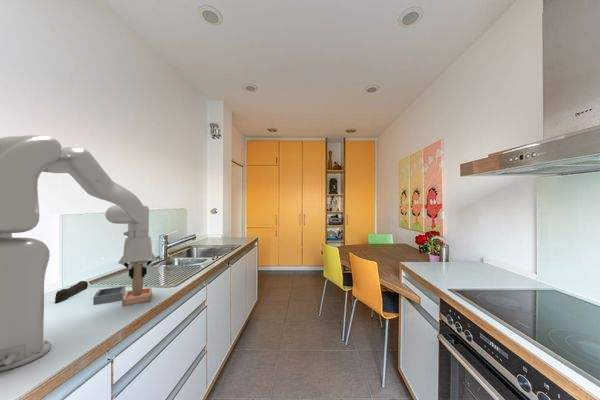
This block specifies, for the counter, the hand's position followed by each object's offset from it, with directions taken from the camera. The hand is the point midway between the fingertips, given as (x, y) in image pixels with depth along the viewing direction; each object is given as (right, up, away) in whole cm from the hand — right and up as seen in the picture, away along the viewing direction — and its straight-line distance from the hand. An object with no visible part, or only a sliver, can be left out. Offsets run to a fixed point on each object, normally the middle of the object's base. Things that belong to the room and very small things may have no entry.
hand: (137, 276), depth 105 cm
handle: (0, -8, 0) cm, 8 cm away
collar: (-13, -10, +1) cm, 16 cm away
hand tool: (-33, -10, +5) cm, 34 cm away
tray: (0, -10, 0) cm, 10 cm away
